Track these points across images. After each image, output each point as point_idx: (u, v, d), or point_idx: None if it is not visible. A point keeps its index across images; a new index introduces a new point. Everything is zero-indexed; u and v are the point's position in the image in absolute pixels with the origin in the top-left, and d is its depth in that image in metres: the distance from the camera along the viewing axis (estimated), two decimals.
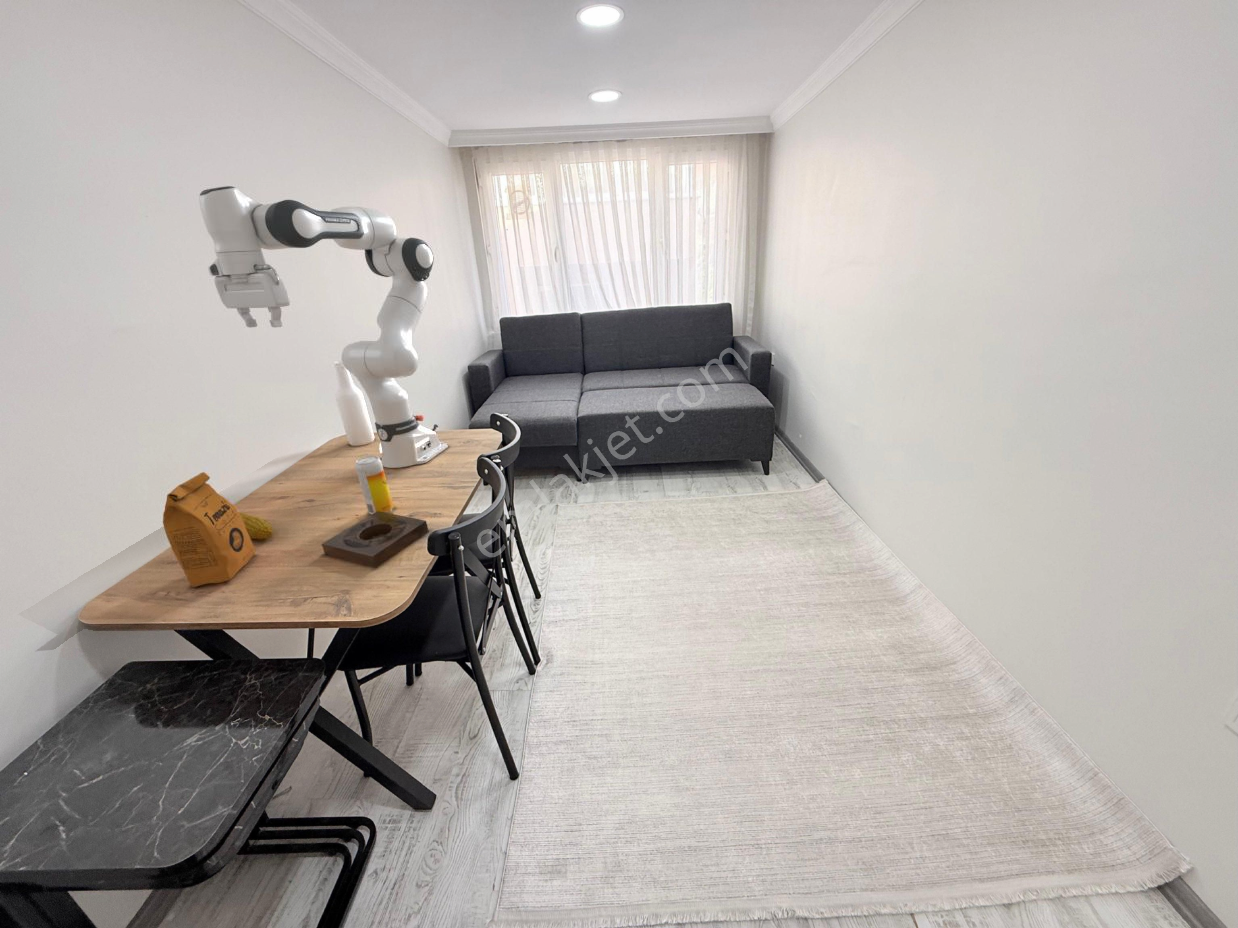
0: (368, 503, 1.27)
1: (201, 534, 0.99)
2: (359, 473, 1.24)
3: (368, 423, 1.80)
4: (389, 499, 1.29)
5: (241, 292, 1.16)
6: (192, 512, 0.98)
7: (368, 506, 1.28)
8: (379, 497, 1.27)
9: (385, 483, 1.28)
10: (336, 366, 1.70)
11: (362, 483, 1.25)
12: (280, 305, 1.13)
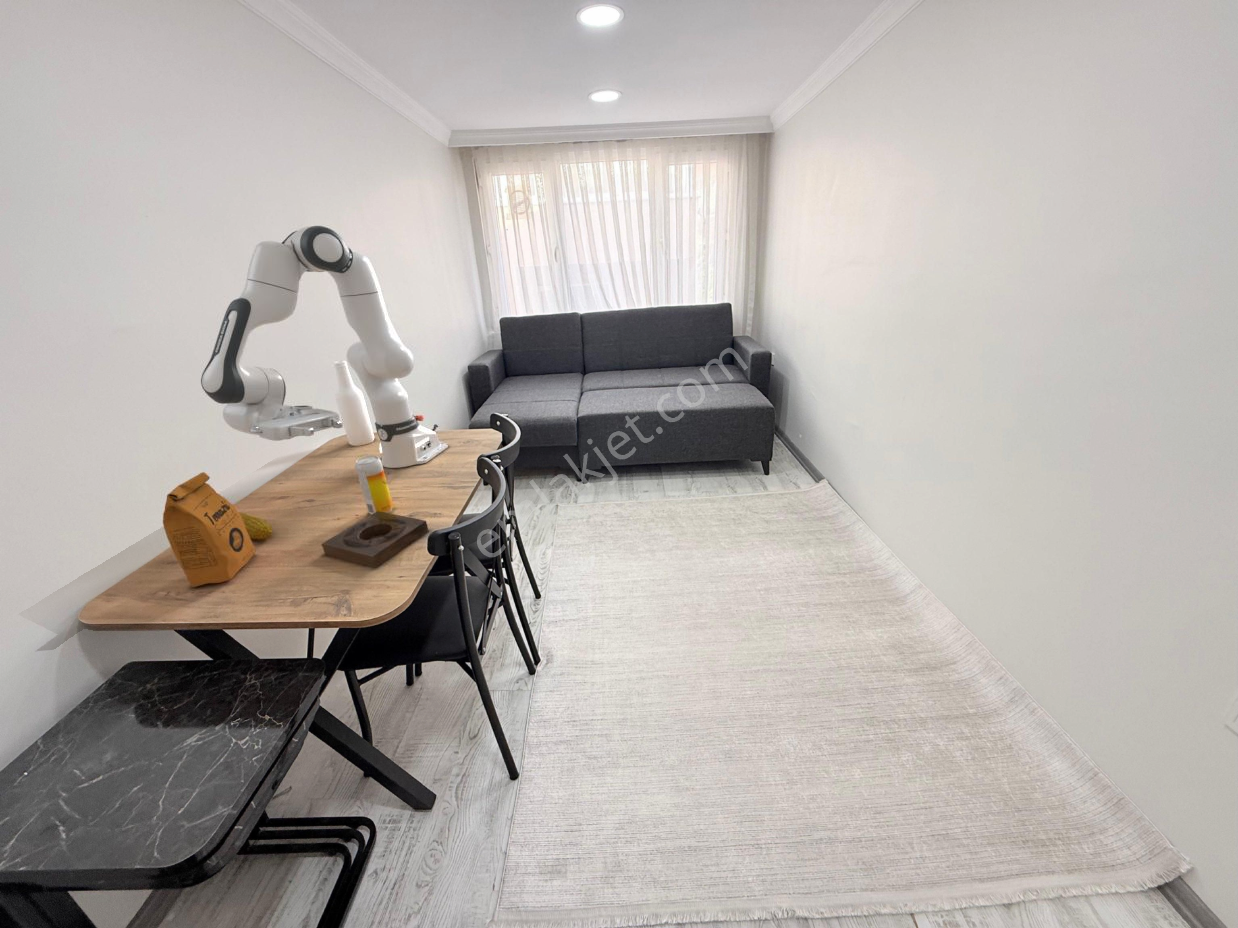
0: (368, 503, 1.27)
1: (201, 534, 0.99)
2: (359, 473, 1.24)
3: (368, 423, 1.80)
4: (389, 499, 1.29)
5: None
6: (192, 512, 0.98)
7: (368, 506, 1.28)
8: (379, 497, 1.27)
9: (385, 483, 1.28)
10: (336, 366, 1.70)
11: (362, 483, 1.25)
12: (277, 437, 1.19)
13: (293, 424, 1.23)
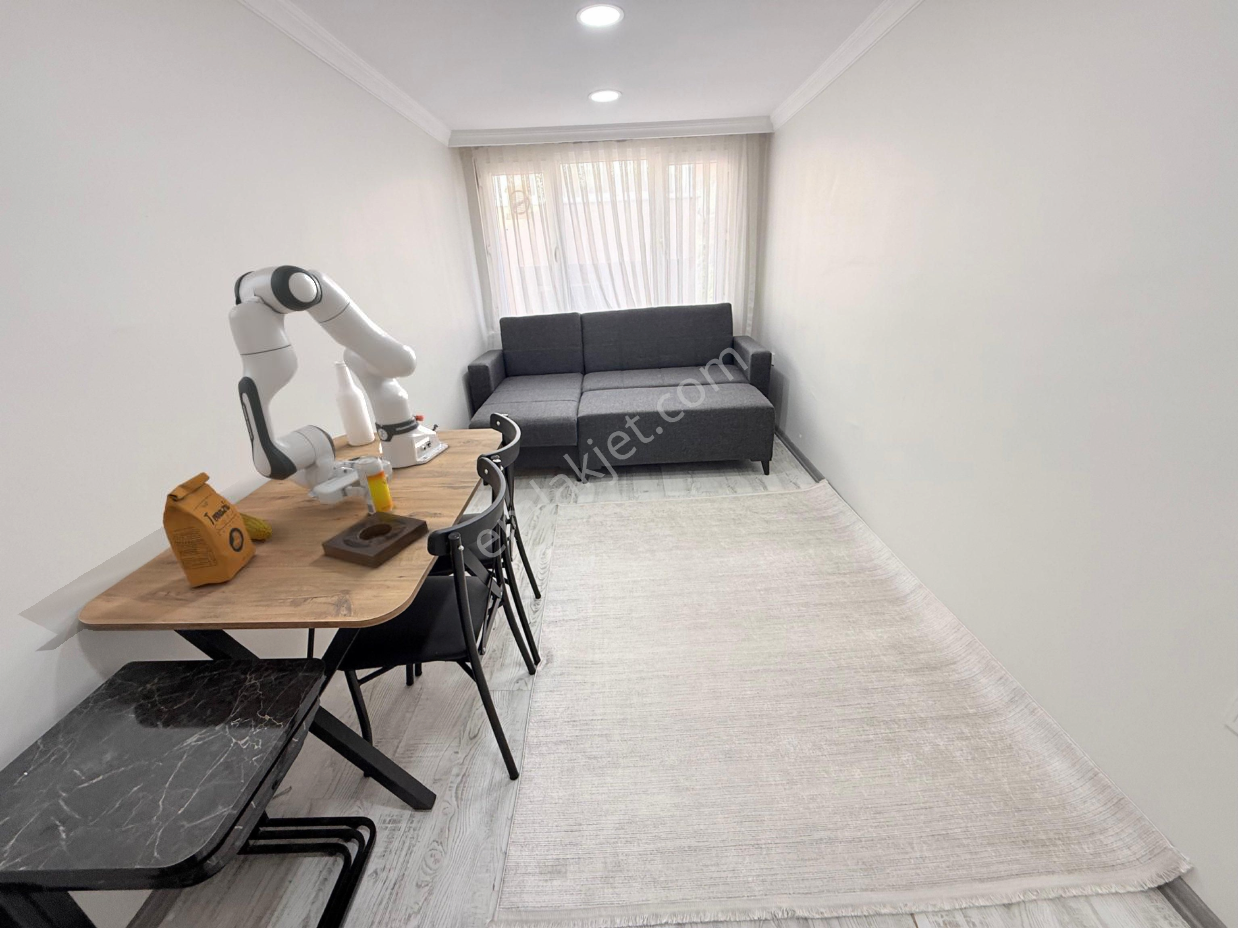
0: (368, 503, 1.27)
1: (201, 534, 0.99)
2: (359, 473, 1.24)
3: (368, 423, 1.80)
4: (389, 499, 1.29)
5: None
6: (192, 512, 0.98)
7: (368, 506, 1.28)
8: (379, 497, 1.27)
9: (385, 483, 1.28)
10: (336, 366, 1.70)
11: (362, 483, 1.25)
12: (331, 501, 1.22)
13: (345, 485, 1.24)
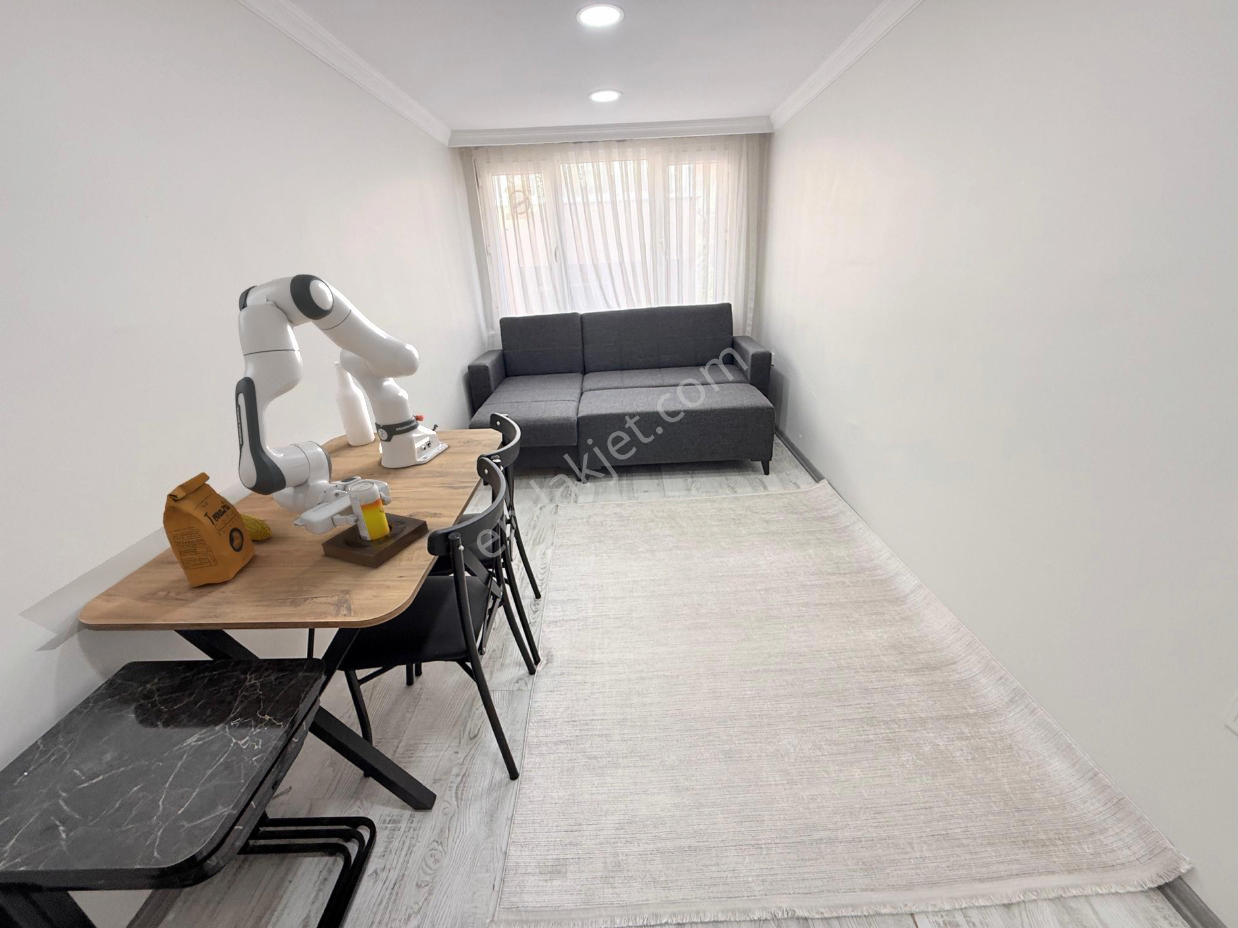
0: (363, 535, 1.12)
1: (201, 534, 0.99)
2: (352, 501, 1.09)
3: (368, 423, 1.80)
4: (387, 529, 1.15)
5: None
6: (192, 512, 0.98)
7: (363, 538, 1.13)
8: (375, 528, 1.12)
9: (382, 512, 1.13)
10: (336, 366, 1.70)
11: (356, 513, 1.10)
12: (320, 531, 1.07)
13: (336, 512, 1.10)
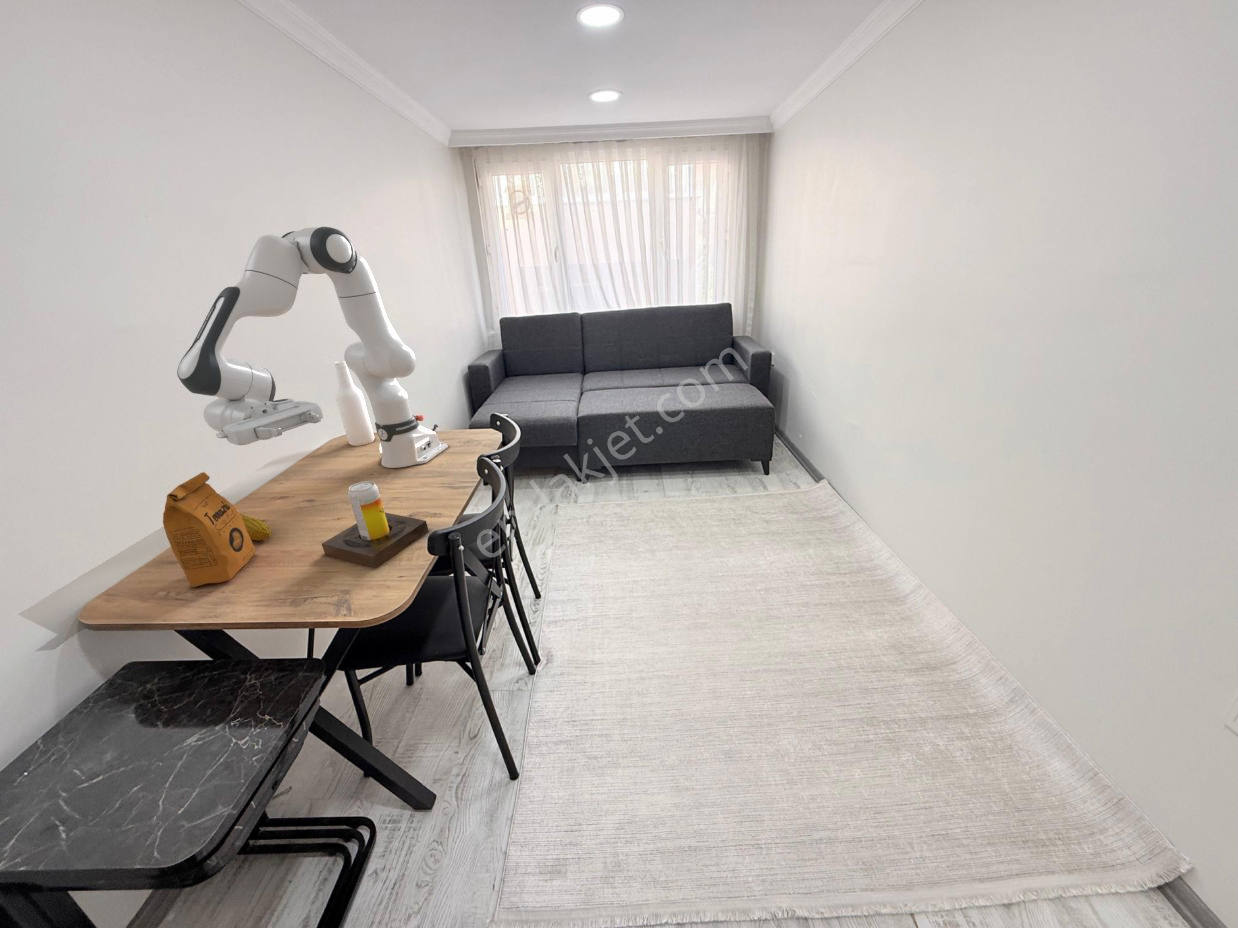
0: (363, 535, 1.12)
1: (201, 534, 0.99)
2: (352, 502, 1.09)
3: (368, 423, 1.80)
4: (387, 529, 1.15)
5: None
6: (192, 512, 0.98)
7: (363, 538, 1.13)
8: (375, 528, 1.12)
9: (382, 512, 1.13)
10: (336, 366, 1.70)
11: (356, 513, 1.10)
12: (241, 441, 1.05)
13: (259, 424, 1.08)
